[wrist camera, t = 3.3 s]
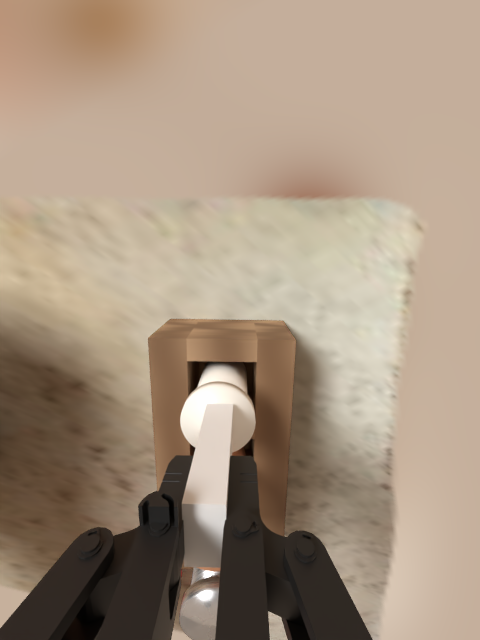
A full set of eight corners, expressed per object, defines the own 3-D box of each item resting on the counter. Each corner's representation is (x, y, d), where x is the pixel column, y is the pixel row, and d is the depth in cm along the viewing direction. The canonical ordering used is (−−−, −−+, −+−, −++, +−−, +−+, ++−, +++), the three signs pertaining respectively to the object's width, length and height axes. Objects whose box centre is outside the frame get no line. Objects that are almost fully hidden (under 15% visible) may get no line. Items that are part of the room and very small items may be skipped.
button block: (178, 505, 29) (162, 568, 23) (170, 318, 24) (148, 338, 19) (273, 506, 29) (281, 570, 23) (283, 320, 24) (296, 340, 19)
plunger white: (198, 398, 23) (181, 454, 17) (197, 348, 22) (178, 386, 16) (250, 398, 23) (254, 455, 17) (252, 349, 22) (256, 388, 16)
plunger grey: (197, 537, 24) (180, 645, 17) (196, 494, 23) (177, 592, 16) (248, 538, 24) (251, 647, 17) (249, 495, 23) (252, 593, 16)
